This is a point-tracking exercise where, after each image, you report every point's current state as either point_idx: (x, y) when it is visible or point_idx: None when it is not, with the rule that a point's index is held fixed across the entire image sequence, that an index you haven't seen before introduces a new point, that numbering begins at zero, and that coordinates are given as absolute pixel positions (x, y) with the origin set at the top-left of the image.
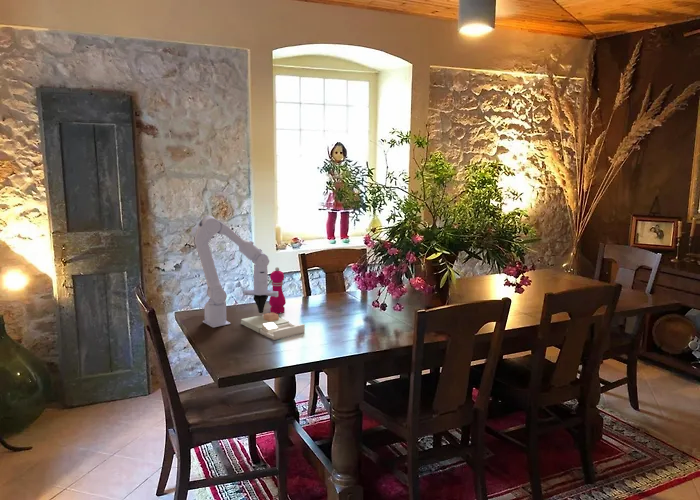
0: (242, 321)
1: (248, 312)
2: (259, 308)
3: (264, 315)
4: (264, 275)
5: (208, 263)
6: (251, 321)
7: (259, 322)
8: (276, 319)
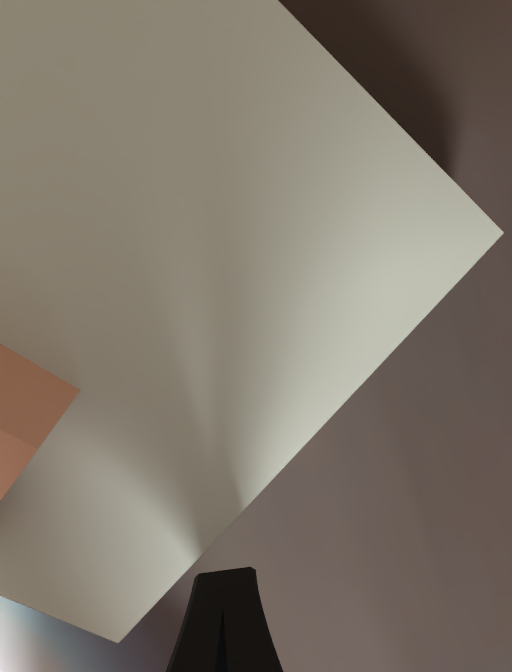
0: (446, 191)
1: (457, 651)
2: (236, 658)
3: (4, 409)
4: None
5: None
6: (237, 135)
7: (17, 104)
8: None
